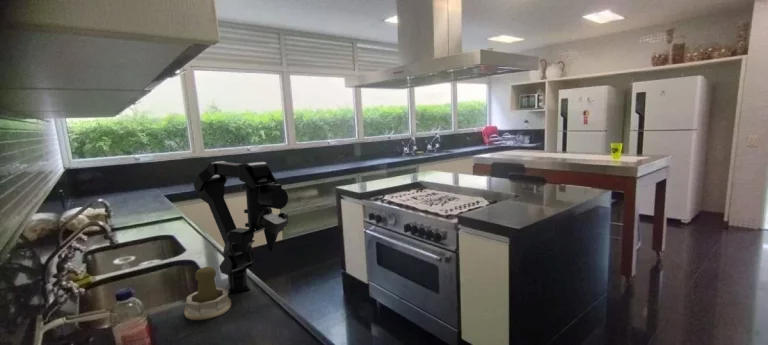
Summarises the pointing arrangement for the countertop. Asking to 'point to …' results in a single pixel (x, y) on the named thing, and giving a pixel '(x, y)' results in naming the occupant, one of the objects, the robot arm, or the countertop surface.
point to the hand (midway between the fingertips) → (260, 256)
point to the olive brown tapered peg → (206, 284)
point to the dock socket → (207, 306)
